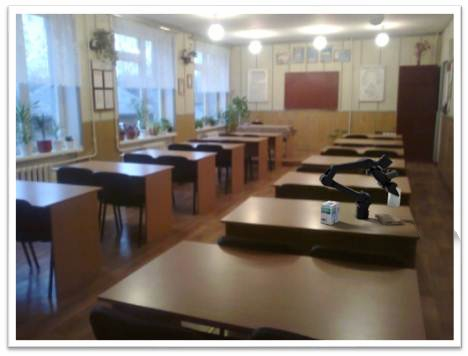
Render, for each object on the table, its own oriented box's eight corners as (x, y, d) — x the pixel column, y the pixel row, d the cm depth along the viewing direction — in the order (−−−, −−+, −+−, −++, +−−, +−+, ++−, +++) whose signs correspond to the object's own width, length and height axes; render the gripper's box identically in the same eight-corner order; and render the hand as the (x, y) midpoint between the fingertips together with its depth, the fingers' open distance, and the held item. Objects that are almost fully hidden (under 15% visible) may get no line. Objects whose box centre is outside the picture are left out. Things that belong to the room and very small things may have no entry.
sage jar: (386, 206, 247) (388, 189, 245) (388, 204, 252) (389, 187, 251) (398, 208, 244) (400, 190, 242) (399, 205, 250) (401, 188, 248)
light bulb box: (331, 225, 236) (332, 206, 234) (319, 223, 240) (320, 204, 238) (339, 220, 244) (340, 202, 242) (328, 218, 248) (329, 200, 246)
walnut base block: (383, 224, 237) (383, 220, 237) (374, 217, 251) (375, 213, 251) (401, 224, 237) (401, 220, 237) (392, 217, 251) (392, 213, 251)
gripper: (395, 168, 235) (414, 188, 237) (384, 162, 253) (401, 181, 255) (379, 182, 236) (398, 202, 238) (369, 175, 255) (387, 194, 257)
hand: (396, 194), depth 247 cm, fingers closed on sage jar, 6 cm apart
